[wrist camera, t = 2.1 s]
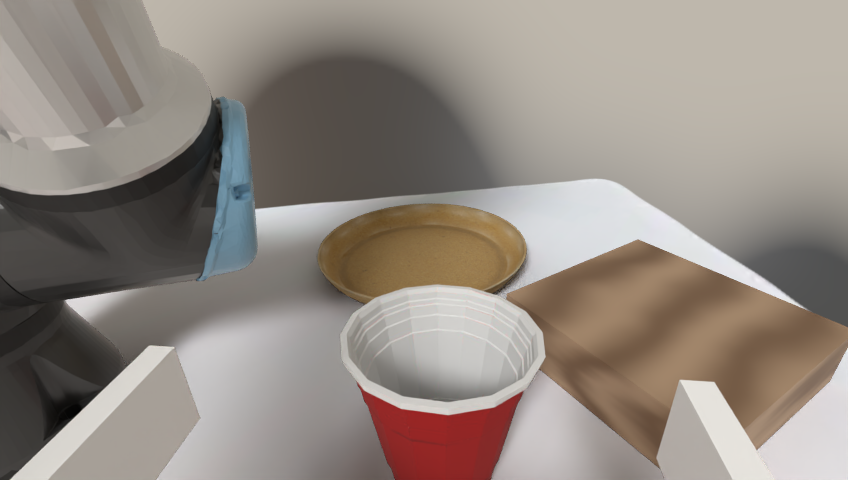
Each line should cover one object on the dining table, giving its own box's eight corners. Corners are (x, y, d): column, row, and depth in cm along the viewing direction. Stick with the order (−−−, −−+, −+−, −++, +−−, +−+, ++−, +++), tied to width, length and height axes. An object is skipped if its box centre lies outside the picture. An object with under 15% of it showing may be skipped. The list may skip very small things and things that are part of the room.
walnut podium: (503, 339, 40) (506, 293, 38) (629, 279, 49) (638, 239, 46) (700, 502, 27) (724, 446, 24) (829, 381, 35) (856, 331, 33)
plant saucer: (276, 282, 51) (271, 257, 49) (403, 211, 68) (402, 190, 67) (455, 363, 38) (456, 333, 37) (555, 250, 56) (558, 227, 54)
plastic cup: (540, 431, 31) (559, 291, 26) (509, 599, 23) (527, 440, 17) (401, 392, 35) (392, 262, 30) (327, 523, 26) (294, 371, 21)
